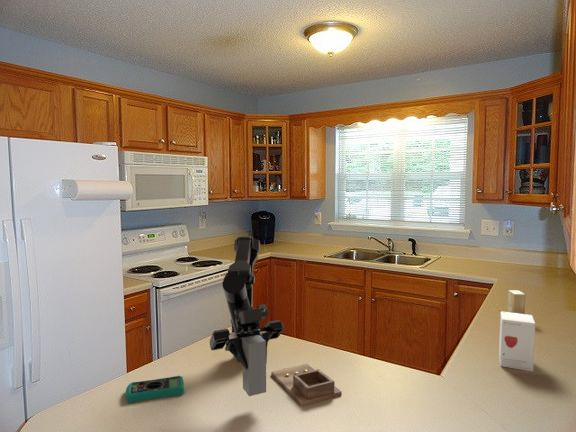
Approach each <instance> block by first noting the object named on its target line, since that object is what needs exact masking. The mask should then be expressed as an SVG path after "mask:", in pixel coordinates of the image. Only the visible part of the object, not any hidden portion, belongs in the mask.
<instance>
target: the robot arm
mask: <svg viewBox="0 0 576 432" xmlns="http://www.w3.org/2000/svg"><path fill="white" fill-rule="evenodd" d="M233 242H234V243H233V246H234V247H233V249H234V250H233V251H234V254H235V256H234V262H233V263H231V264H230V265H229V267H228V269H227V272H225V275H224V277H223V279H222V288H223V293H224V296H225V300H226V303H227V307H228V311H229V315H230V323H231V332H230V330H229V329H228V328H224V329H218V330H214V331H213V332H212V334H211V337H210V339H209V347H210V351H217V350H222V349H224V350H225V352H230V354H231V355H233V356H234V357H235V359H237V361H238V362H239V363H240V365H242V368H243V367H244V368H245V369H248V364H247V360H246V357H245V354H244V351H243V348H242V338H245V337H250V336H256V335H260V336H261V337H262V338H263V339H264V340H265V341H266V364H267V361H268V356H267V355H268V343H269V341H270V340H275V339H278V338H280V335H281V334H282V333H283V332H284V330H285V326H284V323H283V322H282V321H281V320H279V319H277V320H271V321H266V324H265V325H264V327H261V325H260V324H261V322H263V321H264V320H263V319H265V318H268V316H269V311H268V307H267V304H265V303H264V304H259V305H257V307H256V308H253V297H254V296H253V294H254V293H253V290H254V285H255V282H256V276H255V274H254V265H255V263H256V262H257V261H258V259H259V253H260V252H261V242H260V240H259V239H256V238H254V237H253V236H251V235H250V236H248V235H247V236H245V235H243V236H238V237H237V238H236V239H235V240H234V241H233ZM224 347H225V348H224Z"/></svg>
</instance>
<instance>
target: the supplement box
mask: <svg viewBox="0 0 576 432" xmlns="http://www.w3.org/2000/svg"><path fill="white" fill-rule="evenodd" d="M499 318H500V323H499V339H498V340H499V342H498V345H499V346H498V359H499V366H500V367H504V368H510V369H517V370H522V371H527V372H531V373H532V372H534V363H535V361H534V359H535V357H534V356H535V343H536V341H535V340H536V338H535V337H536V322H535V320H534V316H533V314H527V313H525V314H519V313H510V312H508V311H500V317H499Z"/></svg>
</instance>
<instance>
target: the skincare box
mask: <svg viewBox="0 0 576 432" xmlns="http://www.w3.org/2000/svg"><path fill="white" fill-rule="evenodd" d="M526 297H527V295H526V294H525V293H524V292H522V291H521V290H518V289H517V290H516V289H513V290H511V289H508V296H507V298H508V299H507V312H510V313H519V314H526V313H525V312H526Z"/></svg>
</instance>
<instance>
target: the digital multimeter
mask: <svg viewBox="0 0 576 432" xmlns="http://www.w3.org/2000/svg"><path fill="white" fill-rule="evenodd" d="M184 385H185V384H184V378H183V376H181V375H177V376H176V375H175V376H170V377H164V378H163V377H161V378H156V379H150V380H140V381H133V382H130V383H129V384H128V385H127V387H126V389H125V400H126V403H127V404H131V403H137V402H143V401H144V402H145V401H147V400H148V401H149V400H154V399H162V398H169V397H177V396H183V395H185V386H184Z"/></svg>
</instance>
